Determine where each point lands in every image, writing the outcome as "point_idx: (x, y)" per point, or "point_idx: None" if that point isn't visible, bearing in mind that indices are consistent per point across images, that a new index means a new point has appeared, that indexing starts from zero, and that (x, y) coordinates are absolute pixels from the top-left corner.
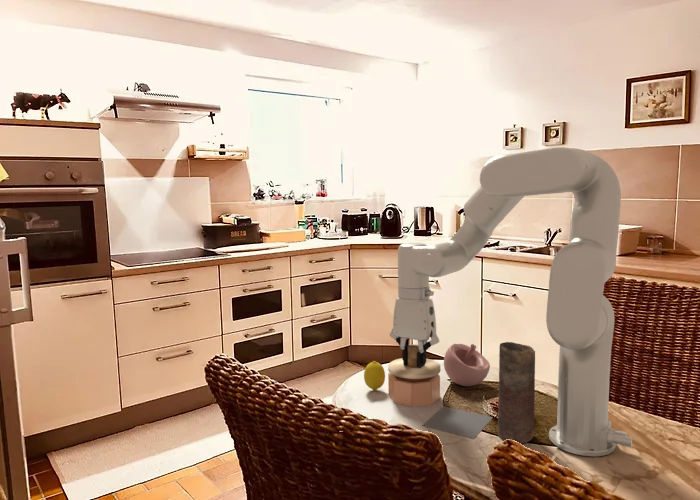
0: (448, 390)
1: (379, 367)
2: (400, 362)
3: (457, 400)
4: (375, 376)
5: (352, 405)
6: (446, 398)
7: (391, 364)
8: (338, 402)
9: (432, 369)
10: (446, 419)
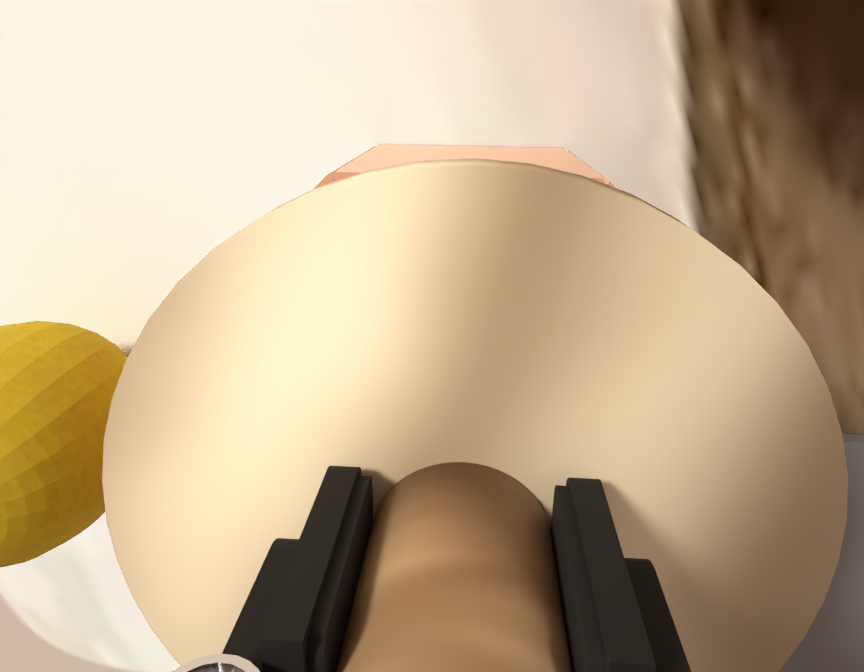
0: (699, 27)
1: (31, 521)
2: (229, 505)
3: (843, 229)
4: (83, 529)
5: (158, 642)
6: (732, 235)
7: (179, 612)
8: (54, 641)
9: (752, 567)
10: (842, 618)
